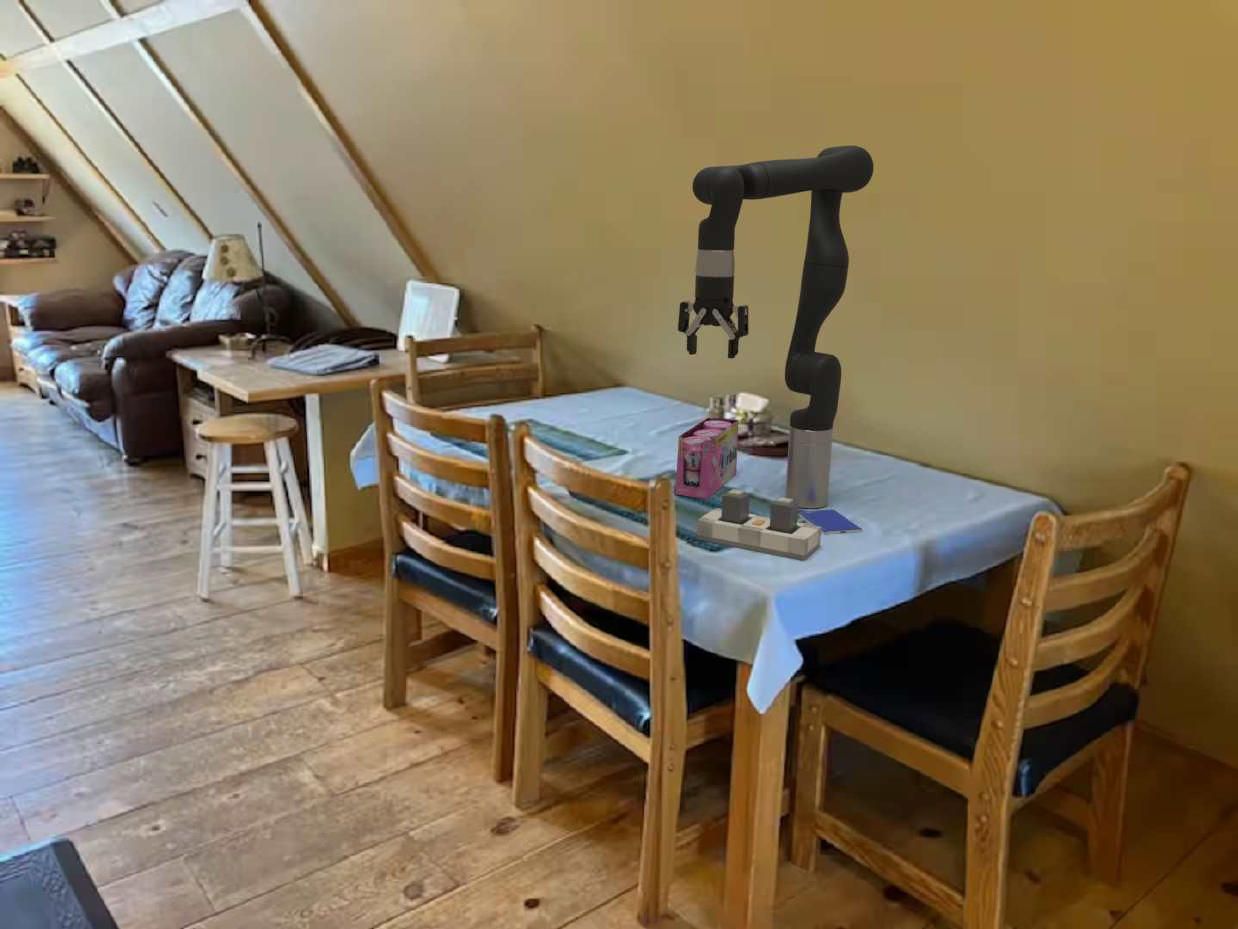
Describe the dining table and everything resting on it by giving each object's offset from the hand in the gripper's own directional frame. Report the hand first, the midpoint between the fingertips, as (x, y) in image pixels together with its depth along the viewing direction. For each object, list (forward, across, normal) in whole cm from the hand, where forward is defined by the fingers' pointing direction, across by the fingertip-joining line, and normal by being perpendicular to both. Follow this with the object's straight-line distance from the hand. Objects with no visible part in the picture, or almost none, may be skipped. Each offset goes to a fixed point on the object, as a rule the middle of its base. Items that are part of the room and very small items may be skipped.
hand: (711, 356), depth 198 cm
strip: (+34, -15, +8) cm, 38 cm away
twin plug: (+33, -20, +8) cm, 39 cm away
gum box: (+34, +11, -23) cm, 43 cm away
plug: (+33, -10, +8) cm, 36 cm away
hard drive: (+35, -23, -11) cm, 43 cm away
